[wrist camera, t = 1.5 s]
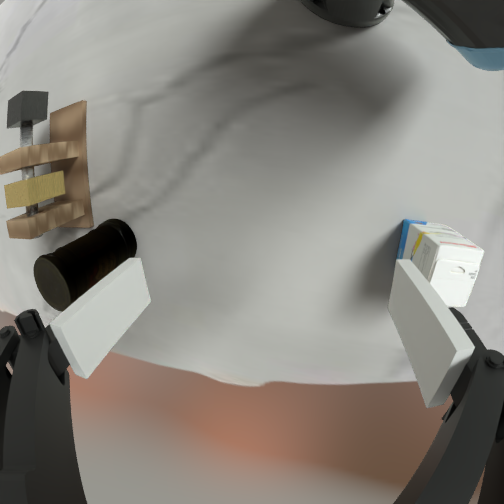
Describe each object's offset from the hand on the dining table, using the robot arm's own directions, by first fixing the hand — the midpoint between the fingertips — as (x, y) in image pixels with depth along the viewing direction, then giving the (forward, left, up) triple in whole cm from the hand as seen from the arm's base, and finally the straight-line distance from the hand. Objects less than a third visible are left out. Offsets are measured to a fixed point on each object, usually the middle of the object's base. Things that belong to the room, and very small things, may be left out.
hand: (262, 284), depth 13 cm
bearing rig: (-6, -40, -27) cm, 49 cm away
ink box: (+7, +23, -27) cm, 36 cm away
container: (+9, -29, -27) cm, 41 cm away
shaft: (-8, -40, -19) cm, 45 cm away
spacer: (-4, -40, -21) cm, 45 cm away
